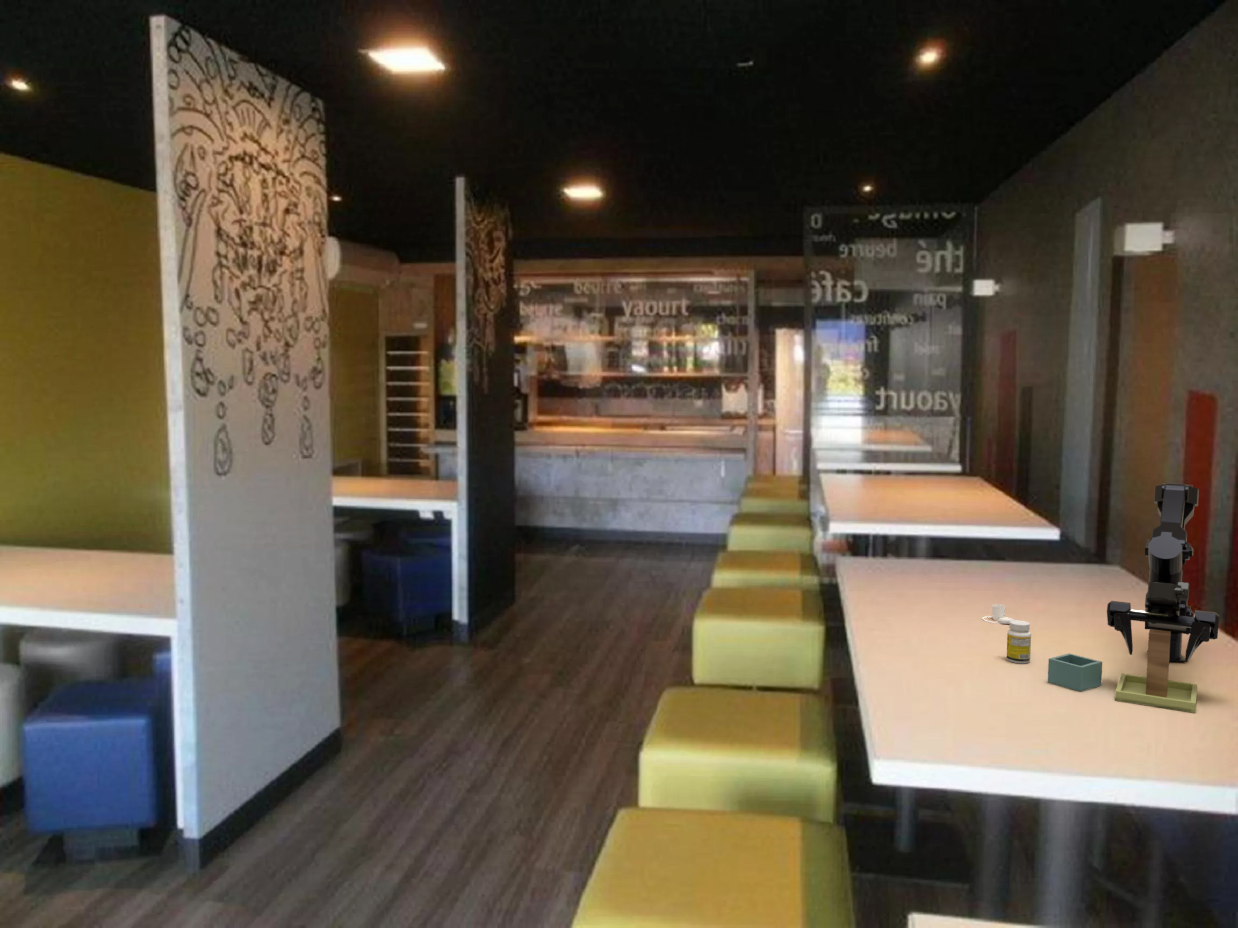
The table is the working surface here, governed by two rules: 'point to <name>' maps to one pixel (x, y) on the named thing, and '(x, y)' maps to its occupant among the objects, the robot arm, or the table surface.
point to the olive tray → (1177, 696)
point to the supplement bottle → (1019, 642)
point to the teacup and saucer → (999, 614)
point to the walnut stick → (1158, 663)
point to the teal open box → (1075, 672)
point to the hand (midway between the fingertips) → (1158, 657)
